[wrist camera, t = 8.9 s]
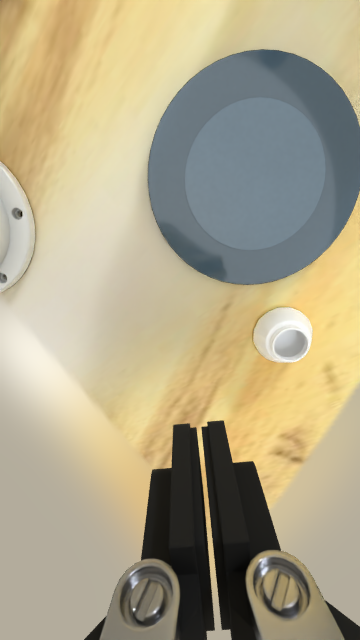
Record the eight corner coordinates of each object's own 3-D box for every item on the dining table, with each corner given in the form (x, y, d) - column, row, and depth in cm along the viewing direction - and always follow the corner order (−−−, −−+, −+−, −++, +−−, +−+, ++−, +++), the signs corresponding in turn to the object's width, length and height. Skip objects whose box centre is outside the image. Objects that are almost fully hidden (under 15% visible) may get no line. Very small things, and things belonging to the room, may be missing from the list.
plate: (165, 293, 26) (164, 296, 25) (132, 77, 22) (129, 69, 21) (353, 270, 25) (360, 272, 24) (361, 38, 21) (371, 27, 20)
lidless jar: (293, 365, 28) (318, 317, 27) (305, 381, 25) (334, 328, 24) (243, 348, 28) (266, 298, 26) (249, 361, 25) (276, 306, 23)
